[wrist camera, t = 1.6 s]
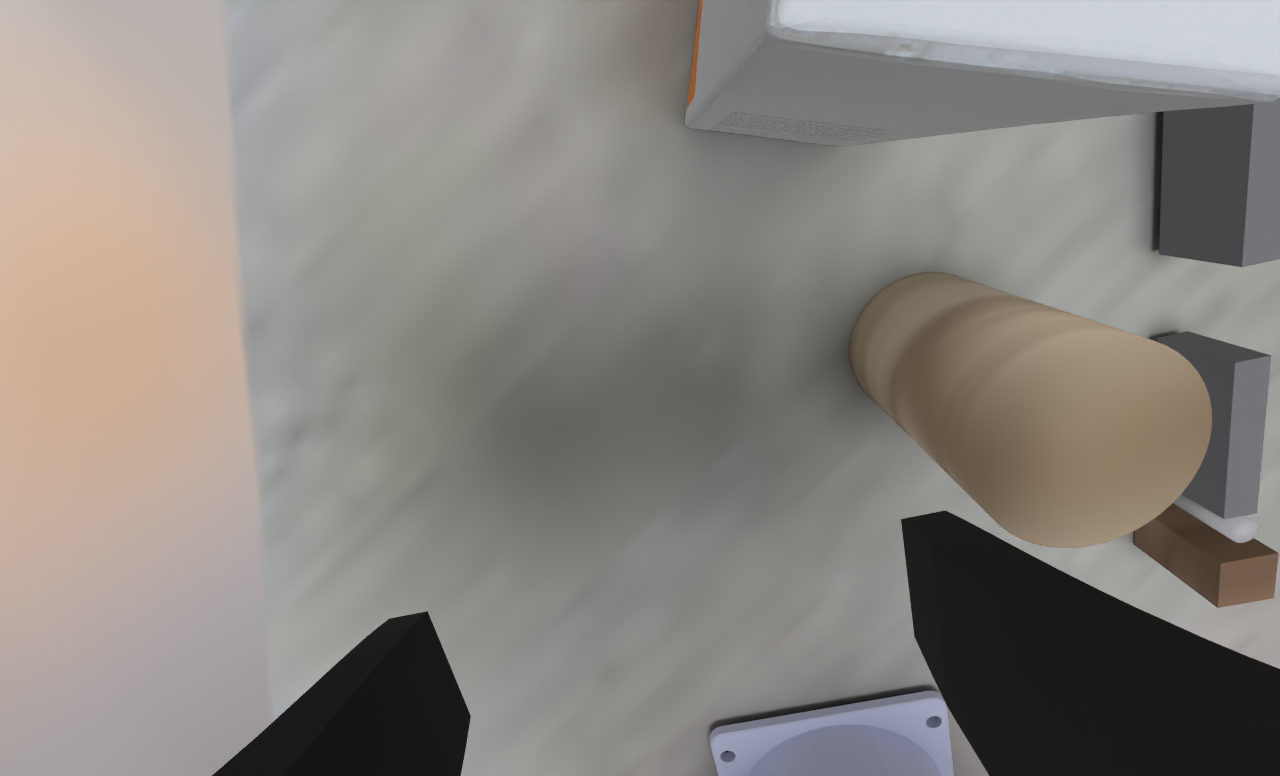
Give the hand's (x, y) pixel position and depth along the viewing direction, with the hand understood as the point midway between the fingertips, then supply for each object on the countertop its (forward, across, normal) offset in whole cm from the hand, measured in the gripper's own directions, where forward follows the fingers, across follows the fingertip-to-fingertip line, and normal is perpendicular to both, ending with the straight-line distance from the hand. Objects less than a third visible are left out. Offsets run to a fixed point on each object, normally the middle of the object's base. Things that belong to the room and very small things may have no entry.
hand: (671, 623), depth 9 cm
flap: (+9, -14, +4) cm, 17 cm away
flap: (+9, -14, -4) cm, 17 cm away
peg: (+9, -8, 0) cm, 12 cm away
